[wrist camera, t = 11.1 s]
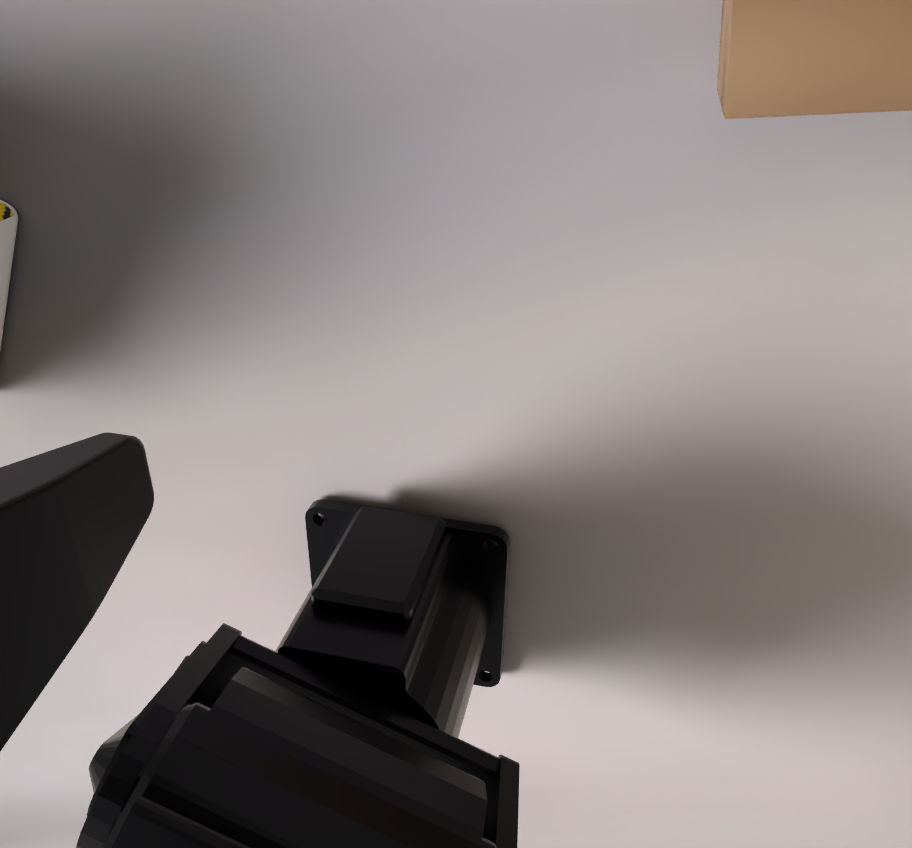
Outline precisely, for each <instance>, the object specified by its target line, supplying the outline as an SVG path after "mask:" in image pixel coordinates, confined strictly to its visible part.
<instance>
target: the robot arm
mask: <svg viewBox="0 0 912 848" xmlns="http://www.w3.org/2000/svg"><path fill="white" fill-rule="evenodd" d="M153 502H154V491H153V486H152V482H151V477H150V472H149V467H148V463H147V458H146V453H145V449H144V445H143V444H142V442H141V441H140V440H139V439H138V438H136V437H134V436H129V435H122V434H115V433H102V434H99V435H96V436H93V437H90V438H87V439H84V440H81V441H78V442H75V443H72V444H69V445H66V446H63V447H60V448H57V449H54V450H51V451H48V452H45V453H42V454H39V455H36V456H33V457H31V458H28V459H25V460H22V461H19V462H16V463H13V464H10V465H7V466H4V467H1V468H0V751H1V750H2V748H3V747H4V745H5V744H6V743H7V741H8V740H9V738H10V737H11V735H12V734H13V732H14V731H15V730H16V728H17V727H18V725H19V724H20V722H21V721H22V719H23V718H24V717H25V715H26V714H27V712H28V711H29V709H30V708H31V706H32V705H33V704H34V702H35V701H36V699H37V698H38V696H39V695H40V693H41V692H42V691H43V689H44V688H45V686H46V685H47V683H48V682H49V680H50V679H51V678H52V676H53V675H54V673H55V672H56V670H57V669H58V667H59V666H60V665H61V663H62V662H63V660H64V659H65V657H66V656H67V654H68V653H69V652H70V650H71V649H72V647H73V646H74V644H75V643H76V641H77V640H78V639H79V637H80V636H81V634H82V633H83V631H84V630H85V628H86V627H87V625H88V624H89V622H90V621H91V619H92V618H93V616H94V614H95V613H96V611H97V609H98V608H99V606H100V604H101V603H102V601H103V599H104V597H105V596H106V594H107V592H108V590H109V588H110V586H111V585H112V583H113V581H114V579H115V577H116V576H117V574H118V572H119V570H120V568H121V566H122V565H123V563H124V561H125V559H126V557H127V555H128V554H129V552H130V550H131V548H132V546H133V545H134V543H135V541H136V539H137V537H138V535H139V534H140V532H141V530H142V528H143V526H144V524H145V523H146V521H147V519H148V517H149V515H150V513H151V510H152V507H153ZM318 513H320V514H323V515H324V516H325V517H326V518H327V519H323V518H321V517H320V516H319V515H318ZM305 520H306V530H307V540H308V550H309V561H310V571H311V581H312V589H311V590H310V592H309V594H308V596H307V597H306V599H305V601H304V603H303V604H302V606H301V608H300V610H299V611H298V613H297V615H296V616H295V618H294V620H293V622H292V623H291V625H290V627H289V629H288V630H287V632H286V634H285V636H284V637H283V639H282V641H281V643H280V644H279V646H278V648H277V649H276V651H273V650H271V649H269V648H266V647H264V646H262V645H260V644H258V643H256V642H254V641H252V640H250V639H247V638H245V637H243V636H241V634H242V632H241V631H239V630H237V629H235V628H233V627H231V626H229V625H227V624H225V623H223V624H222V626H221V627H220V628H219V629H218V630H217V631H216V633H215V634H214V635H213V636H212V637H211V638H210V640H209V641H208V642H207V643H206V642H204V641H202V642H201V643H200V644H199V645H198V646H197V648H196V649H195V650H194V651H193V652H192V653H191V655H190V656H186V657H185V659H184V660H183V661H182V663H181V664H180V666H179V667H178V669H177V670H176V671H175V673H174V674H173V676H172V677H171V678H170V679H169V680H168V681H167V682H166V684H165V685H164V686H163V687H162V688H161V689H160V691H159V692H158V693H157V694H156V695H155V696H154V698H153V699H152V700H151V701H150V702H149V703H148V705H147V706H146V707H145V708H144V709H143V710H142V712H141V713H140V714H139V715H137V716H136V717H135V718H134V719H132V720H131V721H130V722H129V723H127V724H126V725H125V726H124V727H123V728H121V729H120V730H119V731H118V732H116V733H115V734H114V735H113V736H111V737H110V738H109V739H108V740H106V741H105V742H104V743H103V744H102V745H101V746H100V748H99V749H98V751H97V752H96V754H95V756H94V757H93V759H92V761H91V763H90V766H89V772H90V777H91V781H92V786H93V791H94V795H93V798H92V800H91V803H90V805H89V808H88V813H87V819H86V821H85V823H84V826H83V828H82V831H81V833H80V836H79V839H78V843H77V846H76V848H517V835H518V797H519V763H517V762H515V761H513V760H511V759H509V758H507V757H505V756H503V755H499V757H496V756H494V755H492V754H490V753H488V752H486V751H483V750H481V749H479V748H477V747H475V746H473V745H471V744H469V743H467V742H465V741H462V740H460V739H458V736H459V733H460V729H461V726H462V722H463V719H464V715H465V711H466V708H467V704H468V701H469V697H470V694H471V690H472V687H473V684H474V685H479V686H484V687H492V686H496V685H497V684H498V683H499V681H500V678H501V674H502V668H503V650H504V633H505V616H506V599H507V582H508V564H509V547H510V540H509V536H508V534H507V533H506V532H505V531H504V530H503V529H501V528H499V527H496V526H490V525H484V524H477V523H471V522H464V521H458V520H451V519H445V518H438V517H434V516H427V515H421V514H414V513H408V512H401V511H395V510H388V509H382V508H375V507H369V506H360V505H354V504H347V503H341V502H334V501H328V500H317V501H315V502H313V503H312V505H311V506H310V508H309V509H308V511H307V512H306V516H305ZM489 540H492V541H495V542H496V543H497V544H498V546H493V545H490V544H489V543H488V542H487V541H489ZM484 671H488V672H490V673H487V672H484Z"/></svg>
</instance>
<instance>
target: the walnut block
mask: <svg viewBox="0 0 912 848" xmlns="http://www.w3.org/2000/svg"><path fill="white" fill-rule="evenodd" d="M717 91H718V95H719V99H720V102H721V106H722V110H723V114H724V118H725V119H734V118H756V117H778V116H799V115H821V114H843V113H864V112H886V111H908V110H912V0H723V8H722V24H721V39H720V55H719V70H718V85H717Z"/></svg>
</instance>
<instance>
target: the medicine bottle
mask: <svg viewBox="0 0 912 848" xmlns="http://www.w3.org/2000/svg"><path fill="white" fill-rule="evenodd" d="M17 224H18V215H17V212H16V211H15V209H14V208H13V207H12V206H11V205H10V204H8V203H6V202H4V201H2V200H0V350H1V342H2V335H3V327H4V320H5V313H6V305H7V298H8V290H9V283H10V276H11V268H12V261H13V253H14V246H15V239H16V231H17Z"/></svg>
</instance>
